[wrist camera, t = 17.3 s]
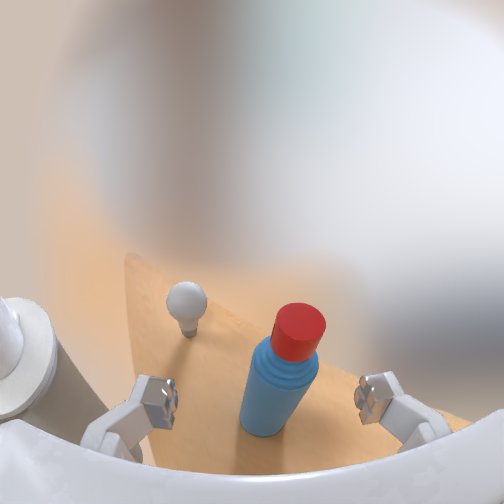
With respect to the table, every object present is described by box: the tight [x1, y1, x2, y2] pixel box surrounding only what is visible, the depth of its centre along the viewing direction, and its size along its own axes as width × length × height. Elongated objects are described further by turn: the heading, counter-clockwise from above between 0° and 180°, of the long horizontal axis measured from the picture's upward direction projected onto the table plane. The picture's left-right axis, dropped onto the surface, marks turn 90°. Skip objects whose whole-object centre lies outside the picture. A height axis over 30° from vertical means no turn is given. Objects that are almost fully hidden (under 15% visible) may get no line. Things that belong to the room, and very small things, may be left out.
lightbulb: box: [166, 282, 207, 337], centre depth 41 cm, size 6×6×11 cm
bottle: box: [240, 335, 319, 437], centre depth 27 cm, size 6×6×22 cm
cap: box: [270, 303, 326, 362], centre depth 22 cm, size 4×4×3 cm
